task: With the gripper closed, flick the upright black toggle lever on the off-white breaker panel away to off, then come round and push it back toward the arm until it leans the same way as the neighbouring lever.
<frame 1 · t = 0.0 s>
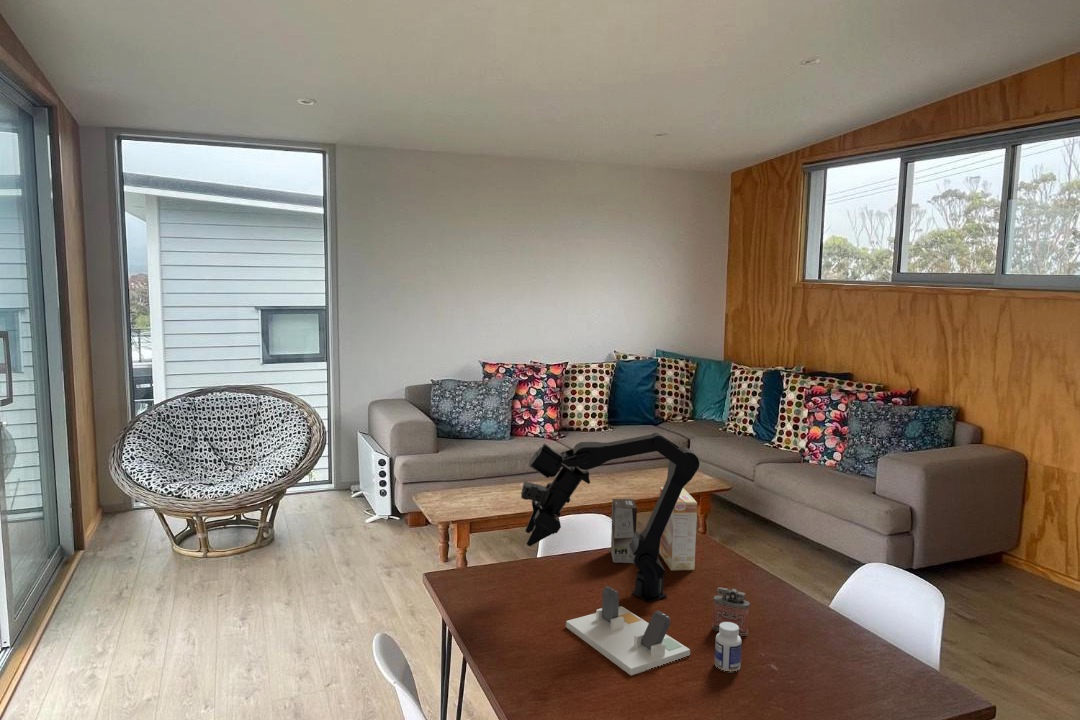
hand: (527, 538, 188), 15 cm above the table, tool tilted 35°, fingers open, 9 cm apart
lighter: (730, 632, 174), on the table
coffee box: (622, 557, 217), on the table
coffeecake box: (675, 560, 216), on the table
breaker panel: (625, 641, 168), on the table
breaker lever: (610, 605, 172), point 6 cm above the table, hinge at 0.0°
pill bottle: (727, 667, 158), on the table
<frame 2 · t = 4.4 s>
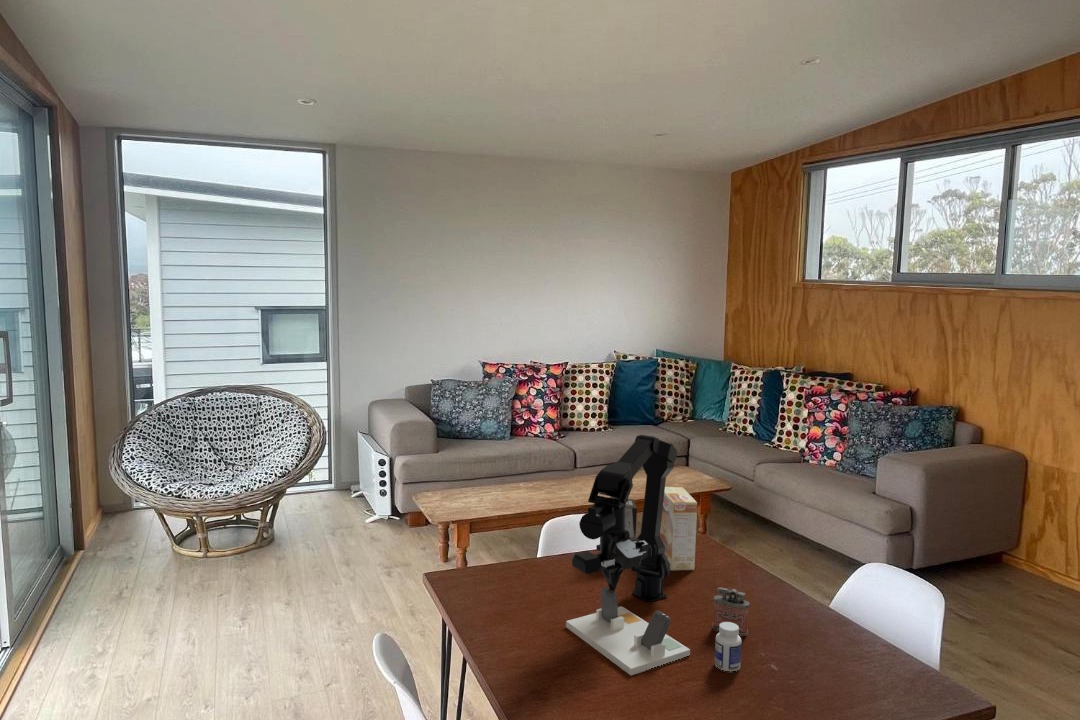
hand: (612, 591, 172), 9 cm above the table, tool pointing down, fingers closed, pressing on breaker lever
breaker lever: (609, 605, 172), point 6 cm above the table, hinge at 5.0°, touching gripper
everything else where it was.
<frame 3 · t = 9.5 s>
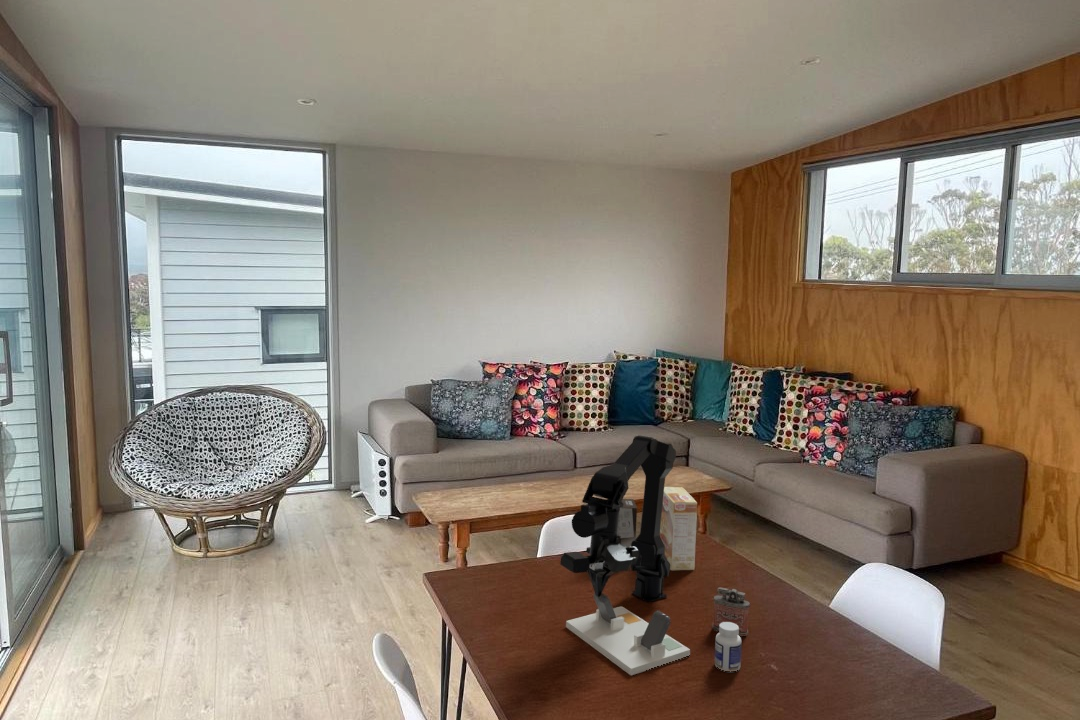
hand: (597, 596, 170), 9 cm above the table, tool pointing down, fingers closed, pressing on breaker lever
breaker lever: (605, 608, 172), point 6 cm above the table, hinge at 24.6°, touching gripper
everything else where it was.
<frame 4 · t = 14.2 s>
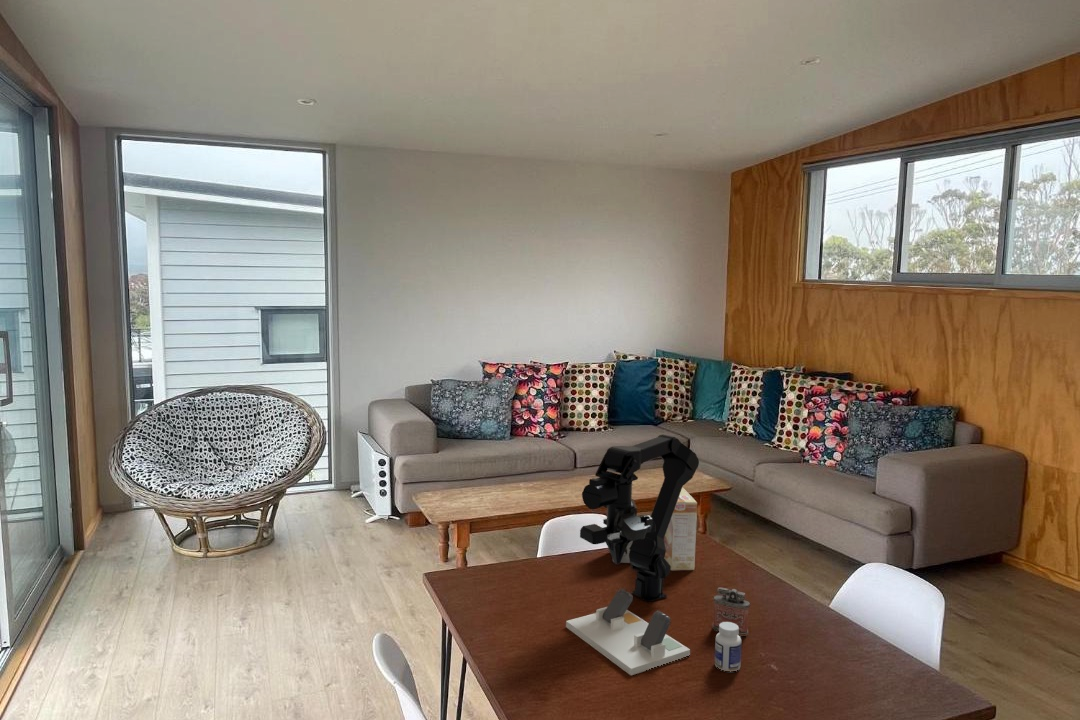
hand: (617, 563, 181), 12 cm above the table, tool pointing down, fingers closed
breaker lever: (617, 606, 174), point 5 cm above the table, hinge at -40.8°
everything else where it was.
at the end: breaker lever at -41° (first picture: +0°) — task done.
